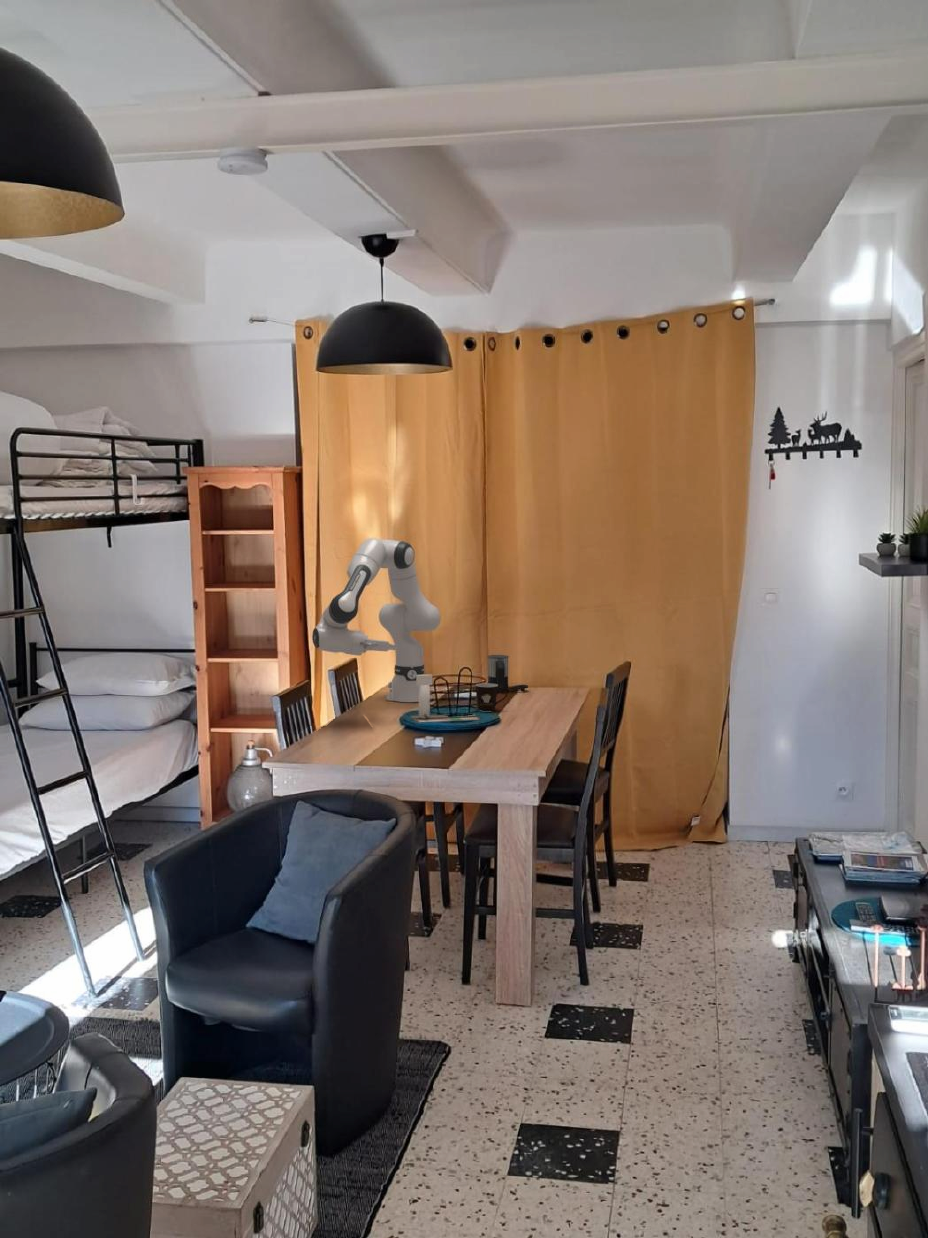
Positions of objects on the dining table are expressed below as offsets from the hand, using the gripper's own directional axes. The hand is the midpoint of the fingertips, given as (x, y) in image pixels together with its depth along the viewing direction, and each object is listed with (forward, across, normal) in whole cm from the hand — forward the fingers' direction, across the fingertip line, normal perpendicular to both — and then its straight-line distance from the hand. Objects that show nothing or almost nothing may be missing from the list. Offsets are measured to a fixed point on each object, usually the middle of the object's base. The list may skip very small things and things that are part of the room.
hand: (392, 647), depth 440 cm
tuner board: (+22, -6, +25) cm, 33 cm away
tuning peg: (+13, -7, +24) cm, 28 cm away
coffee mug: (+45, +7, +20) cm, 49 cm away
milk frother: (+69, +46, +11) cm, 83 cm away
